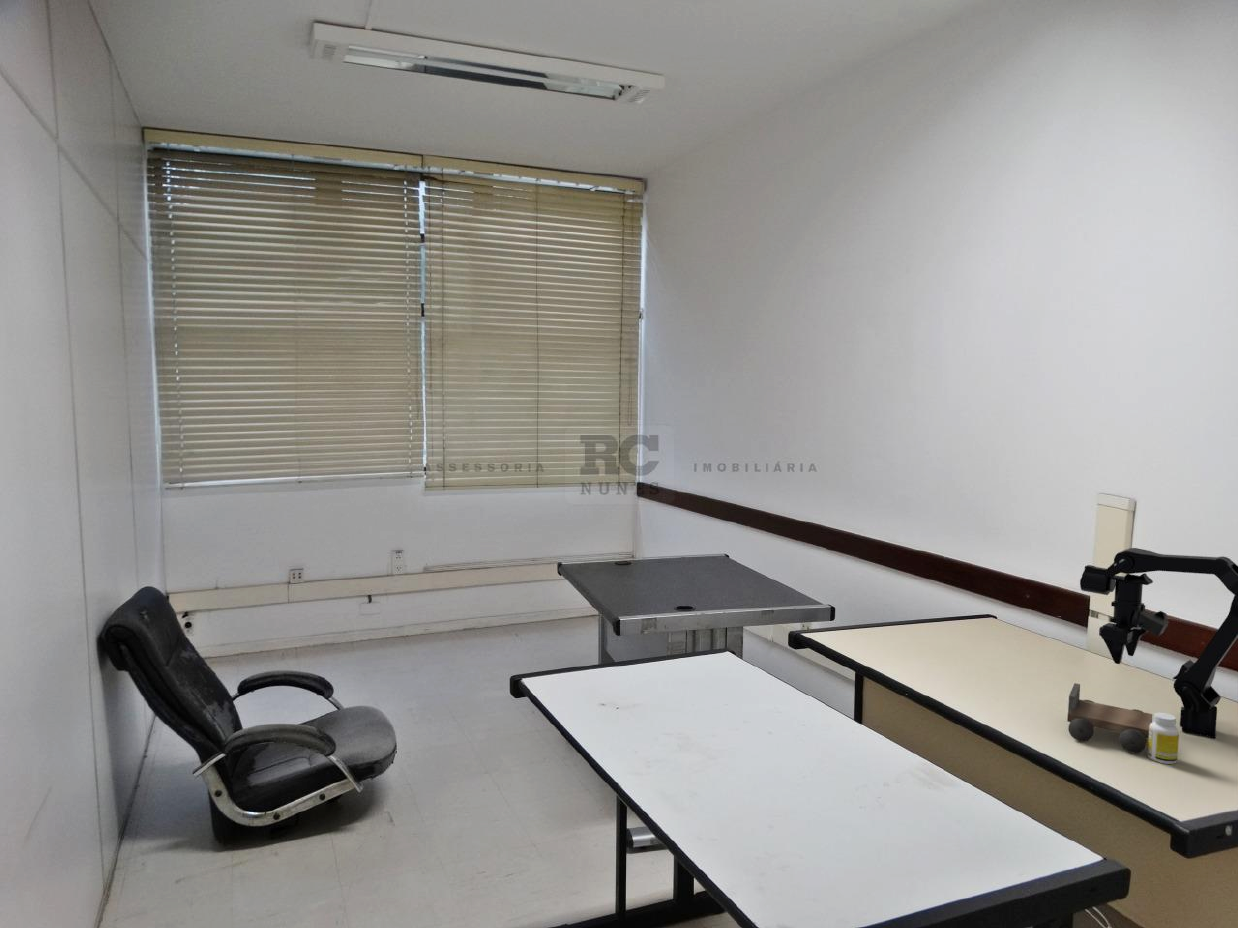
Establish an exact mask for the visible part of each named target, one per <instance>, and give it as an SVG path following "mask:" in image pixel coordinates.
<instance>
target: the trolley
mask: <svg viewBox="0 0 1238 928" xmlns="http://www.w3.org/2000/svg"><path fill="white" fill-rule="evenodd" d="M1080 691H1081V684H1080V683H1076V682H1074V683H1073V686H1072V688H1071V690H1070V693H1069V695H1068V708H1067V710H1068V711H1067V721H1066V722H1068V723H1069V724H1068V733H1069V735H1070V736H1071V738H1073V739H1074V740H1076V741H1078V742H1089V741H1090V740H1091V739H1093V737H1094V733H1095V728H1096V729H1099V730H1100V729H1101V730H1106V731H1108V732H1109V731H1110V732H1114V733H1119V739H1118V742H1119V744H1120V746H1121V749H1123V750H1124V751H1126V752H1128V753H1131V754H1140V753H1142V752H1144V750H1145V749H1146V747H1147V740H1149V726H1150V724H1151V723H1153V714H1152V713H1148V712H1145V711H1142V710H1139V709H1128V708H1122V707H1119V706H1115V705H1114V706H1113V705H1110V704H1109V705H1108V704H1104V703H1099V702H1095V701H1094V700H1090V699H1080V695H1081V693H1080Z"/></svg>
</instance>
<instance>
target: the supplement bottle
mask: <svg viewBox="0 0 1238 928" xmlns="http://www.w3.org/2000/svg"><path fill="white" fill-rule="evenodd" d="M1176 723H1177V718H1176V716H1174V715H1173V714H1170V713H1166V712H1154V714H1153V721H1152V723H1151V724H1150V726H1149V739H1147V740H1148V741H1147V742H1148V743H1147V757H1148V758H1149V759H1150V760H1152V761H1154V762H1157V763H1161V764H1164V765H1165V764H1166V765H1172V764H1176V763H1177V761H1178V754H1179V753H1178V751H1179V740H1180V739H1179V738H1180V731H1179V730H1180V729H1178V727H1176Z"/></svg>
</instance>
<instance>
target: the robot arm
mask: <svg viewBox="0 0 1238 928" xmlns="http://www.w3.org/2000/svg"><path fill="white" fill-rule="evenodd" d="M1150 572H1151V573H1152V572H1174V573H1189V574H1202V575H1214V576H1215V577H1216V578H1218V580H1219V581H1220V582H1221V583H1222V584H1223V585H1224V587H1225V588H1226V589H1227V590H1228V591H1229V592H1230V593H1232V594H1233V595H1234V596H1233V599H1232V602H1231V605H1230V607H1229V608H1230V609H1229V612H1228V613H1227V614H1228V615H1227V616H1226V618H1225V619H1224V621H1223V622H1222V623H1221V624H1220V626H1219V628H1218V629H1217V630H1216V632H1215V634H1214V635H1213V636H1212V638H1211V639H1210V641H1209V642H1208V644H1207V645H1206V647H1205V648H1204V650H1203V651H1202V653H1200V655H1199V657H1198V658H1197V659H1196V661H1195V662H1194V661H1192V660H1191V659H1189V660H1187V661H1186V662H1185V663H1183V664H1182V665H1181V667H1180V669H1179V670H1178V673H1177V674H1176V675H1175V676H1173V677H1172V679H1173V680H1174V682H1173V689H1174V692H1175V693H1176V694H1177V695H1178V696H1179V697H1180V700H1181V703H1182V706H1181V707H1180V718H1179V727H1181V732H1182V733H1186V734H1191V735H1196V736H1202V737H1206V738H1211V739H1216V738H1217V719H1218V718H1217V717H1218V707H1217V706H1216V705H1218V704H1219V702H1220V700H1221V699H1222V696H1221V695H1220V694H1219V693H1218V692H1217V690H1215V689H1214V688H1213V686H1212V684H1213V681H1214V680H1215V679H1214V678H1215V675H1216V670H1217V668H1218V666H1220V664H1221V662H1222V661H1223V659H1224V657H1226V655H1227V654H1228V652H1229V650H1231V648H1232V646H1233V645H1234V644H1235V642H1236V641H1237V639H1238V564H1237V563H1235V562H1234V561H1233V560H1232V559H1231V558H1229V557H1227V556H1202V555H1201V556H1200V555H1185V554H1184V555H1183V554H1182V555H1180V554H1163V553H1157V552H1154V551H1151V550H1147V549H1141V548H1137V547H1130V548H1127V549H1124V550H1121V551H1118V553H1116V554H1115V556H1114V557H1113V563H1112V564H1110V565H1109V567H1107V568H1104V567H1098V566H1095V565H1090V564H1088V565H1084V571H1083V572H1082V574H1081V577H1080V579H1079V585H1080V586H1079V587H1080V591H1082V592H1087V593H1093V594H1098V595H1105V596H1108V595H1109V594H1111V593H1113V592H1114V600H1113V601H1111V603H1110V604H1111V605H1110V606H1111V607H1113V616H1112V617H1110V621H1109V622H1108V623H1105V624H1103V625H1102V626H1100V627H1099V630H1098V632H1099V633H1098V636H1100V637H1101V638H1100V639H1102V640H1103V641H1104V644H1105V645H1106V647H1107V650H1108V651H1109V654H1110V656H1111V658H1112V660H1113V662H1114V664H1115V665H1116V664H1117V665H1120V664H1121V663H1122V659H1123V655H1124V650H1125V649H1126V650H1125V651H1126V653H1127V656H1128V657H1133V656H1134V655H1135V653H1136V650H1137V648H1138V645H1139V642H1140V640H1141V638H1142V636H1143V635H1145V634H1146V633H1148V632H1150V633H1151V634H1152V635H1154V636H1157V637H1159V636H1160V635H1162V634H1164V632H1165V630H1166V629H1167V627H1168V626H1169V623H1170V622H1169V620H1168V616H1167V615H1168V614H1167V613H1166V612H1164V611H1163V610H1159V611H1157V612H1156V613H1154V612H1152V611H1151V612H1150V611H1149V610H1148V611H1147V610H1146V605H1145V603H1143V602H1142V601H1143V600H1142V599H1143V587H1144V586H1148V585H1151V584H1153V583H1154V581H1153V579H1151V577H1149V576H1148V574H1147V573H1150ZM1121 573H1122V574H1125V575H1124V576H1122V575H1118V574H1121ZM1136 574H1137V575H1136ZM1138 574H1141V575H1138Z"/></svg>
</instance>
